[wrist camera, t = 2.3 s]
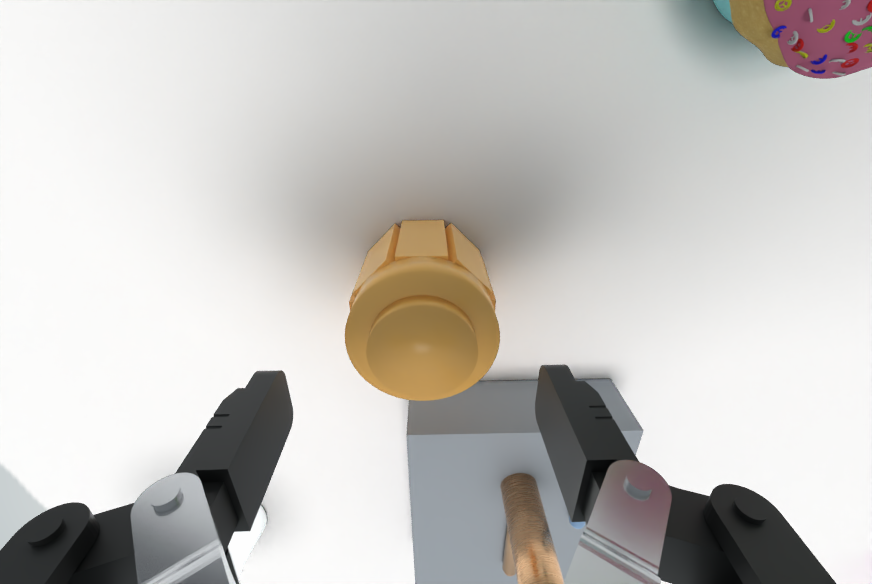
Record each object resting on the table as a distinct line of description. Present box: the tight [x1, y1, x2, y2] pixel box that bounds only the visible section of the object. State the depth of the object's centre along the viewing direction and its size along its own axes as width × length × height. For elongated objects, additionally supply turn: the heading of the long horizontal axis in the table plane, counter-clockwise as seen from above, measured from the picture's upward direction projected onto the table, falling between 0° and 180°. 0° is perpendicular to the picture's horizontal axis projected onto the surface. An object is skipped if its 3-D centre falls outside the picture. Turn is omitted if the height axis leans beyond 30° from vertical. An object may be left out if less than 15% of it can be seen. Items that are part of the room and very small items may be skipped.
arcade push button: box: [345, 220, 500, 401], centre depth 17 cm, size 6×6×7 cm
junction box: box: [407, 379, 643, 584], centre depth 25 cm, size 16×12×5 cm
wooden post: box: [500, 473, 564, 584], centre depth 17 cm, size 2×2×9 cm
